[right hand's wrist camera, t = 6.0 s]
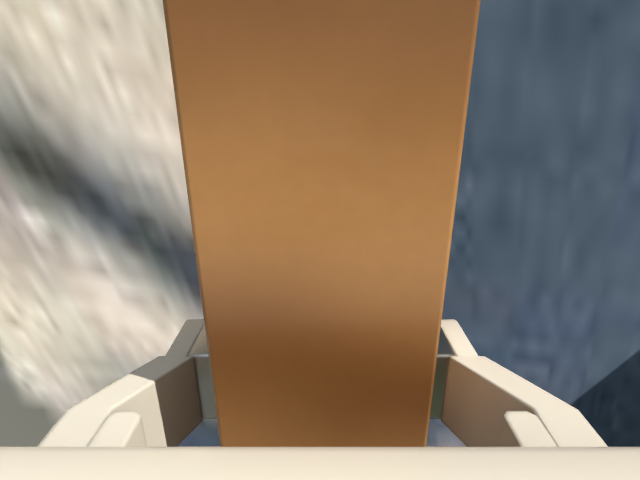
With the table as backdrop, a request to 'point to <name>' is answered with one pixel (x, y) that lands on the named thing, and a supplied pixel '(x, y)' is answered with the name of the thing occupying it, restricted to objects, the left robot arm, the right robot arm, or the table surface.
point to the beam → (322, 207)
